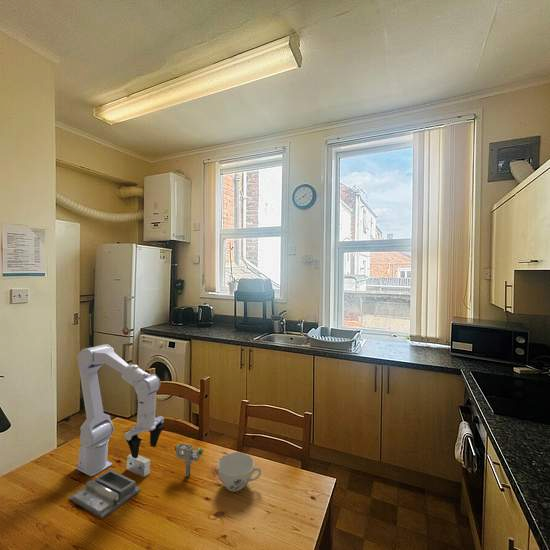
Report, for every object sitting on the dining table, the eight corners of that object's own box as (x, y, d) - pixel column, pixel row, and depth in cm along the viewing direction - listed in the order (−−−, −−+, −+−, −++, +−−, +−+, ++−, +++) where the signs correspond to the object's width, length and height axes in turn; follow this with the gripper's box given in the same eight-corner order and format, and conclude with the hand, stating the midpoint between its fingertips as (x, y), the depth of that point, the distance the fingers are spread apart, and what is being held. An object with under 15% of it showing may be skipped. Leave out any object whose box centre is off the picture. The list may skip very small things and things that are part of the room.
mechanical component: (198, 480, 103) (200, 451, 103) (172, 475, 105) (173, 447, 105) (202, 475, 106) (203, 446, 106) (176, 470, 108) (178, 442, 108)
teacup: (212, 498, 95) (213, 473, 95) (220, 473, 107) (221, 451, 107) (258, 501, 94) (259, 476, 94) (261, 475, 107) (262, 453, 107)
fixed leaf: (69, 499, 92) (69, 488, 92) (108, 475, 103) (108, 466, 104) (102, 519, 85) (102, 507, 85) (140, 491, 97) (140, 481, 97)
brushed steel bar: (126, 469, 107) (127, 455, 107) (132, 466, 109) (132, 452, 109) (143, 477, 103) (144, 463, 103) (149, 473, 105) (150, 459, 106)
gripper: (136, 423, 94) (133, 466, 93) (170, 407, 107) (168, 444, 106) (121, 417, 97) (119, 459, 96) (156, 402, 110) (154, 439, 109)
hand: (144, 451), depth 102 cm, fingers open, 7 cm apart
